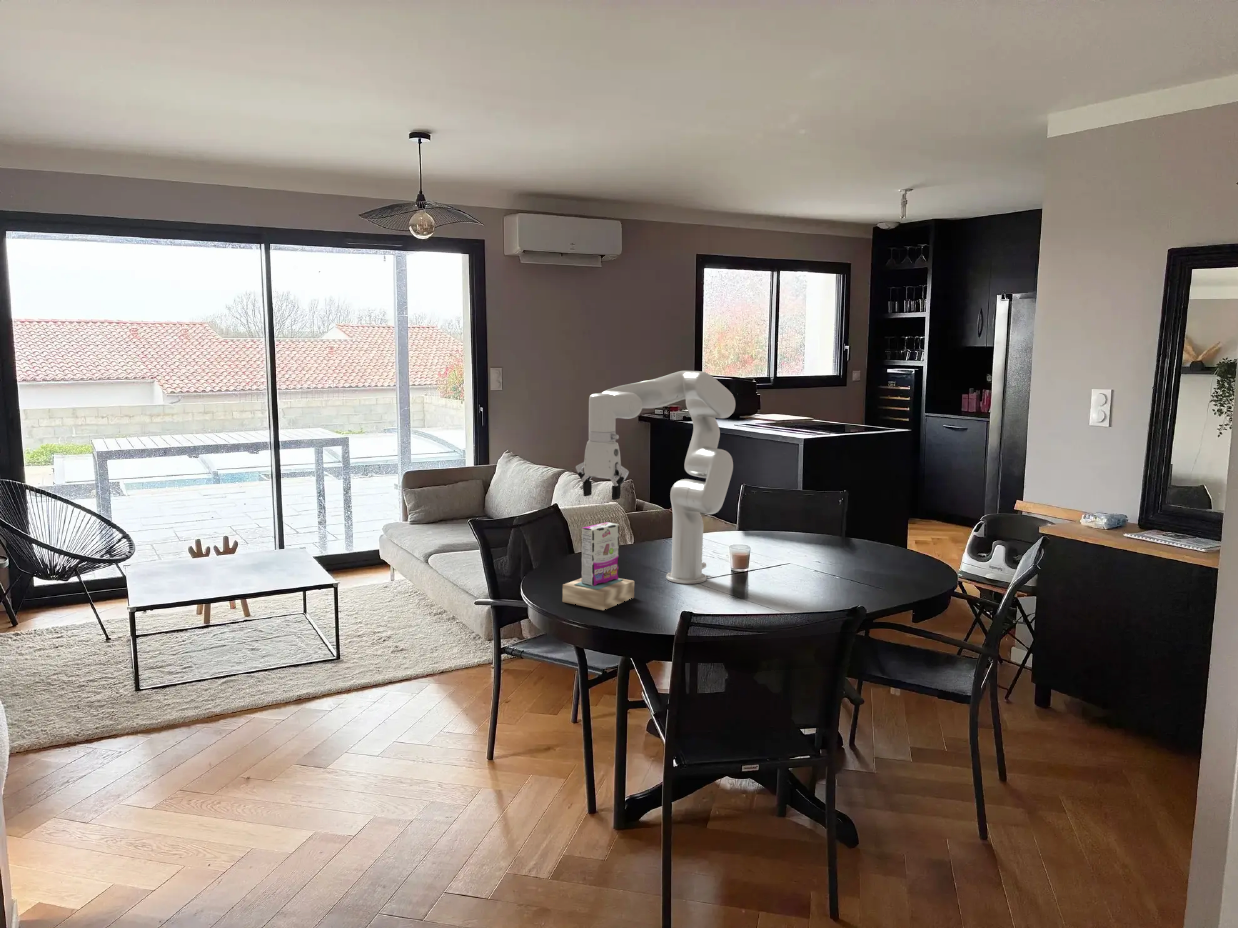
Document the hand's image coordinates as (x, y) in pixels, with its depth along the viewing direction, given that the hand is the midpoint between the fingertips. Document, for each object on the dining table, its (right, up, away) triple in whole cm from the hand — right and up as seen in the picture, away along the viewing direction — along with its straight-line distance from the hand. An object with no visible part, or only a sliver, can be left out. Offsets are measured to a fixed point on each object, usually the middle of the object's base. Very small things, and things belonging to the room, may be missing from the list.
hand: (601, 497), depth 261 cm
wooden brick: (-1, -30, +4) cm, 30 cm away
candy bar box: (-1, -24, +3) cm, 25 cm away
